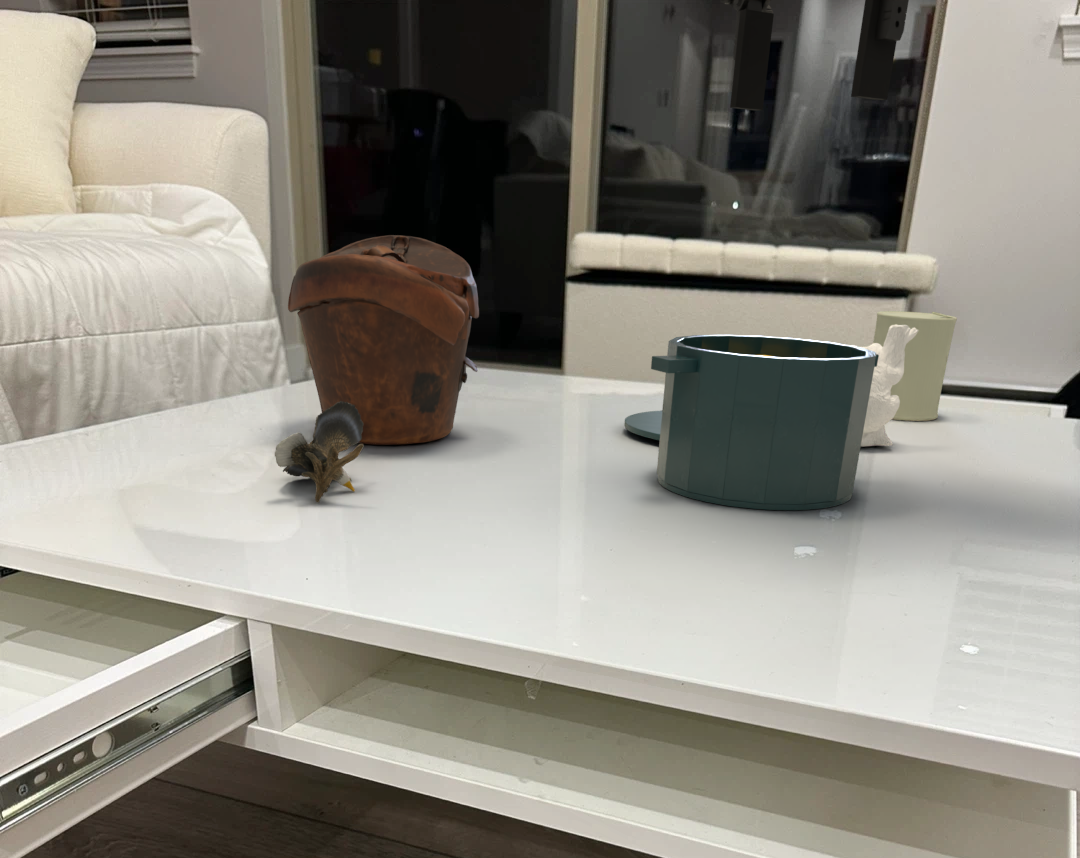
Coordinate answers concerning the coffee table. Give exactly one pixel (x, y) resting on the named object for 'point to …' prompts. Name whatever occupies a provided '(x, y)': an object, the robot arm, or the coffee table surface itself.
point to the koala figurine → (885, 384)
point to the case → (389, 333)
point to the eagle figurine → (324, 448)
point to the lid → (645, 424)
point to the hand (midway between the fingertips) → (803, 104)
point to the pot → (762, 420)
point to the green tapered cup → (919, 361)
